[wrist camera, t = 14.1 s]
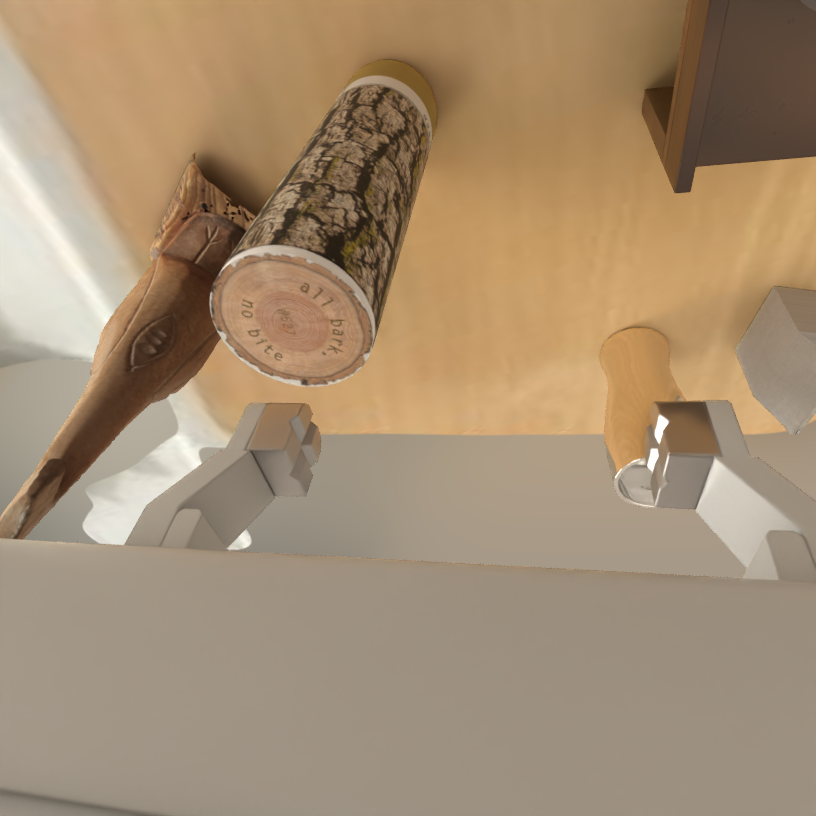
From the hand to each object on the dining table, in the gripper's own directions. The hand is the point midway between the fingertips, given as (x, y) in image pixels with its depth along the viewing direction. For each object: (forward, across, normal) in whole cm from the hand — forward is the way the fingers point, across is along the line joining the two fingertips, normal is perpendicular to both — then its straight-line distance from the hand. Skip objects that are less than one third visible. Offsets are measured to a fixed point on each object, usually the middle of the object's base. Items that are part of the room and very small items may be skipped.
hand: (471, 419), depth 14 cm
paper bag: (+33, -22, +23) cm, 46 cm away
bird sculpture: (+33, +24, +12) cm, 43 cm away
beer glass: (+33, -11, +26) cm, 44 cm away
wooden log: (+33, +8, +3) cm, 34 cm away
